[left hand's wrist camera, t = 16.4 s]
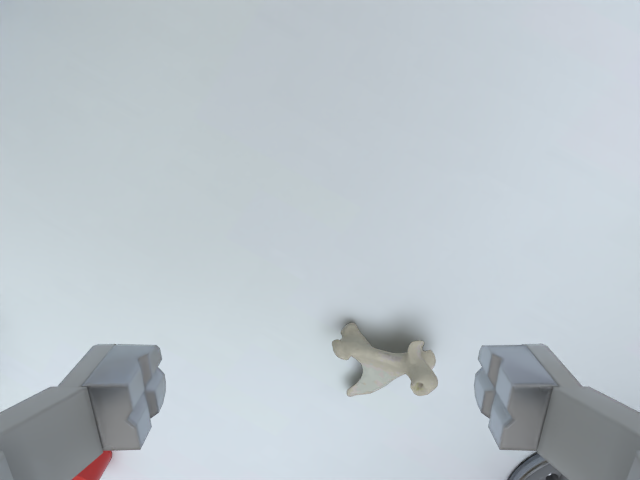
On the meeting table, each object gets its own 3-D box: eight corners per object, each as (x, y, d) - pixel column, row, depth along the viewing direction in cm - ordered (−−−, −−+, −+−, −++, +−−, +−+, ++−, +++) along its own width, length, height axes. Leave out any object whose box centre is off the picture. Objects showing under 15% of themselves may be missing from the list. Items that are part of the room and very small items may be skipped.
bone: (321, 357, 37) (429, 411, 34) (352, 299, 40) (453, 342, 37) (326, 389, 45) (412, 434, 42) (351, 339, 48) (433, 377, 45)
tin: (117, 460, 49) (98, 495, 45) (90, 466, 49) (69, 501, 45) (103, 438, 48) (83, 472, 43) (76, 444, 48) (53, 479, 44)
